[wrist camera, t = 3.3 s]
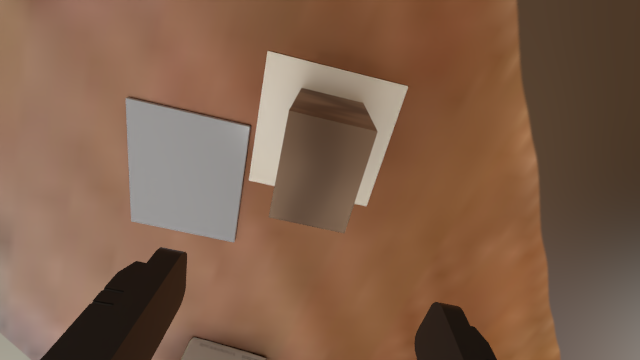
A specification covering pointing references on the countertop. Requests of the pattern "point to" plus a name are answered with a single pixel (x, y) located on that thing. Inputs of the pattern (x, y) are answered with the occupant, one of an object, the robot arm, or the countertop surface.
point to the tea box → (215, 352)
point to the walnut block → (322, 160)
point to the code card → (295, 73)
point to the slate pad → (185, 169)
